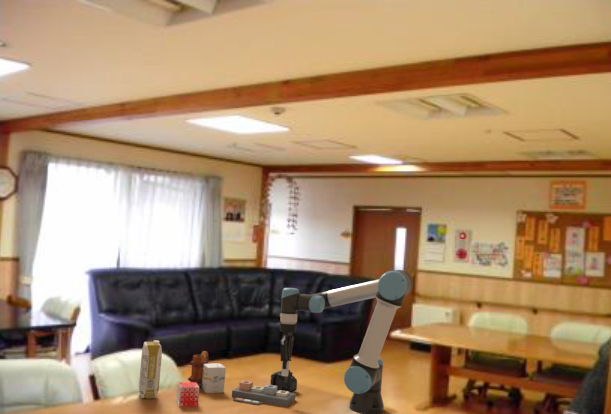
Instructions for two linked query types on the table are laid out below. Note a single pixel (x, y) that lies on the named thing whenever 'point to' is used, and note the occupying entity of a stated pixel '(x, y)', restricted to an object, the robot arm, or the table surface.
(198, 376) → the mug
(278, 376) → the camera
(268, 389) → the key slate
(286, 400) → the keypad base
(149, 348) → the juice carton
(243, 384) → the key terracotta
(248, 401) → the tile
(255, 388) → the key sage
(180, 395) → the small box
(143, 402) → the table surface
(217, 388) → the ink box
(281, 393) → the key ivory
